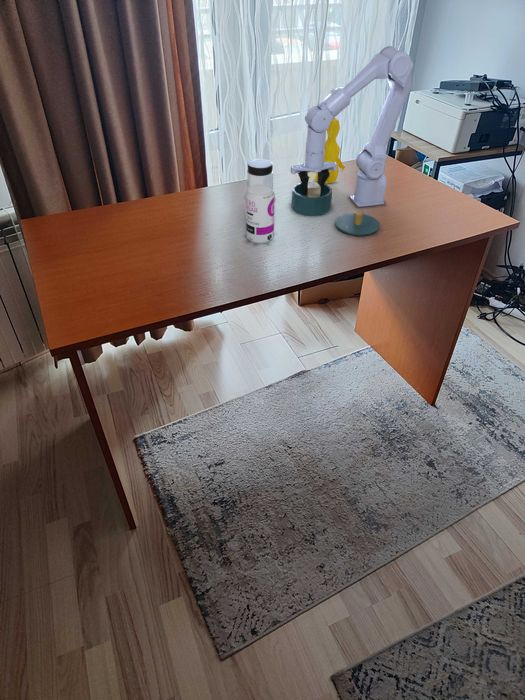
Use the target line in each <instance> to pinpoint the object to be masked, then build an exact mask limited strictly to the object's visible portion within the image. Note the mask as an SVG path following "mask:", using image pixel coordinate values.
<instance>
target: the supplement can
mask: <svg viewBox="0 0 525 700" xmlns="http://www.w3.org/2000/svg"><path fill="white" fill-rule="evenodd" d="M275 195H276V194H275V192H274V189H273V190H272V187H270V186H268V185H264V184H256V185H252V186H250V187H249V188H248V190H246V192H245V225H246V226H245V229H246V235H245V236H246V238H247V239H248V240H249V241H250V242H251V243H254V244H258V245H259V244H261V245H262V244H266V243H269V242H270V241H272V240H273V239H274V237H275V201H276V197H275Z"/></svg>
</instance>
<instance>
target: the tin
mask: <svg viewBox="0 0 525 700" xmlns="http://www.w3.org/2000/svg"><path fill="white" fill-rule="evenodd" d="M311 182H312V181H311V180H309V181H308V183H311ZM316 182H317V181H316ZM317 183H318V182H317ZM332 199H333V188H332V187H331V185H328V184H324V186H323V189H322V192H321V194H320V197H306V196H304V194H303V188H302V183H301V182H299V183H296V184H294V186H292V189H291V209H292V211H293V212H295V213H297V214H299V215H301V216H306V217H307V216H309V217H318V216H322V215H325V214H327V213H329V211H331V208H332V207H331V206H332Z"/></svg>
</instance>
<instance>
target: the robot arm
mask: <svg viewBox="0 0 525 700" xmlns="http://www.w3.org/2000/svg"><path fill="white" fill-rule="evenodd" d="M413 68H414V63H413V60H412V58H411V56H410V55H409V54H408V53H407V52H405V51H401V50H399V49H397V48H395V47H394V46H392V45H387V46H385V47H383V48H382V49H381V50H380V51H379V52H377V53H375V54H374V55H373V56H372V58H371V60H370V61H369V62H368V63H367V64H366V66H364V67H363V68H362V69H361V70H360V71H359V72H358V73H357V74H356V75H355V76H354V77H353V78H352V79H351V80H350V81H349V82H347V84H346V85H345V86H344V87H342V86H341V87H339V86H338V87H336V88H332V89H331V90H330V91H329V92H330V93H329V94H328V95H327V96H326V97H325V98H324V99H323V100H322V101H319V102H318V103H316V105H315V106H312V107H310V108H309V109H308V110H307V112H306V114H305V116H304V121H305V123H306V124H307V128H306V131H307V132H306V141H305V155H304V157H305V158H304V162H302V163H299V164H295V165H291V166H290V173H291V174H292V175H296V174H298V177H299V180H300V183H302V188H303V194H304V195H307V187H308V181H310V176H309V173H316V172H318V184H319V185H320V187H321V191H320V194H321V192H322V189H323V186H324V184H325V182H326V180H327V179H328V177H329V176H330V173H329V170H336V169H337V164H336V163H335V162H324V151H325V142H326V140H327V130H326V129H328V128H329V126H330V123H331V120H332V119H333V118H336V117H337V116H338V115H340V113H342V112H343V111H344V110H346V108H347V107H349V106H350V104H351V100H352V97H354V96H356V95H357V94H358V93H359V92H360V91H362V90H363V89H364V88H366V87H367V86H368V85H369V84H371V83H372V82H373V81H375V80H380V79H381V80H387V83H388V85H389V90H388V93H387V96H386V97H385V101H384V102H383V103H384V104H383V106H382V108H381V111H380V114H379V116H378V119H377V121H376V124H375V127H374V129H373V132H372V134H371V136H370V139H369V141H368V142H367V143H365V144H364V145H363V147H362V149H361V151H360V152H359V153H357V156H356V159H355V164H356V166H357V168H358V170H357V175H356V180H355V181H356V182H355V189H354V194H353V195H349V199H351V201H352V202H353V203H354V204H355V206H356V207H358V208H362V207H372V206H381V205H385V202H384V201H385V196H386V190H387V177H386V175H385V174H384V173H385V170H386V161H387V158H388V155H387V154H388V153H387V146H388V144H389V141H390V139H391V137H392V133H393V131H394V129H395V126H396V124H397V121H398V119H399V117H400V114H401V113H402V109H403V107H404V105H405V103H406V100H407V98H408V95H409V92H410V90H411V88H412V70H413ZM307 172H308V173H307Z"/></svg>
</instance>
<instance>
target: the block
mask: <svg viewBox="0 0 525 700" xmlns="http://www.w3.org/2000/svg"><path fill="white" fill-rule="evenodd" d="M320 191H321V187H320V185H319V184H318V183H317V181H311V183H308V187H307V195H304V196H306V197H320Z"/></svg>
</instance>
